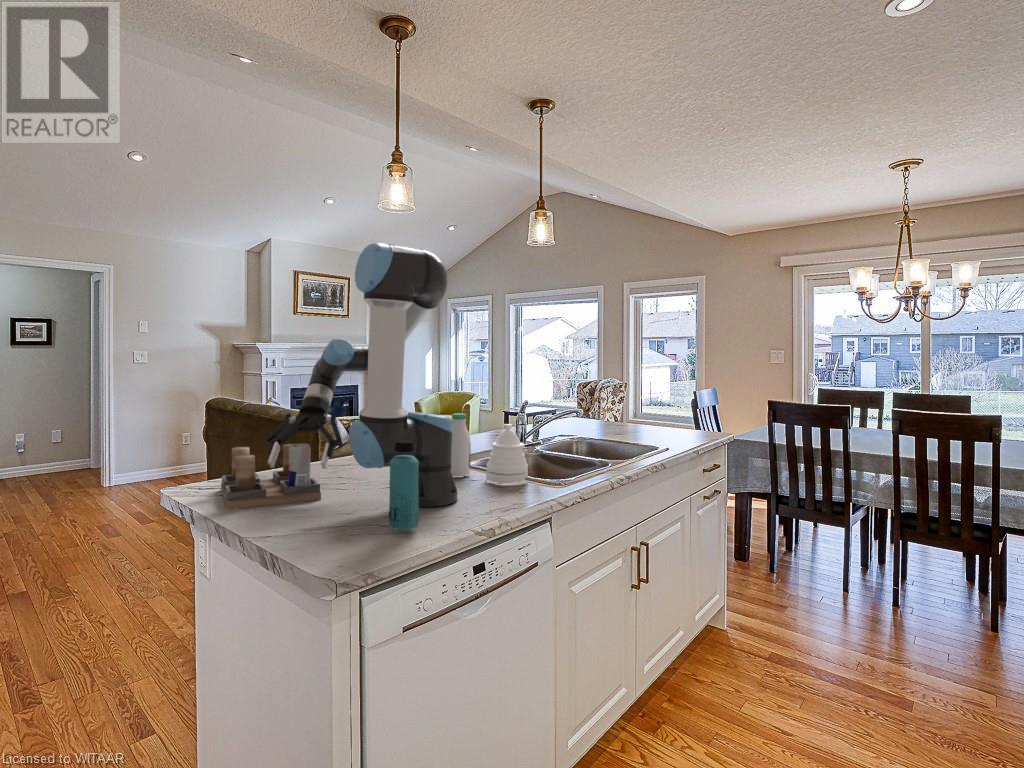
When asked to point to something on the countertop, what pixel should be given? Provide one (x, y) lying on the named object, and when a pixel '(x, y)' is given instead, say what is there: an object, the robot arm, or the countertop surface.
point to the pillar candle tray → (262, 484)
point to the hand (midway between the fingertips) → (296, 465)
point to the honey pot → (507, 459)
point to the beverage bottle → (404, 488)
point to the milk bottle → (460, 446)
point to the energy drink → (299, 464)
